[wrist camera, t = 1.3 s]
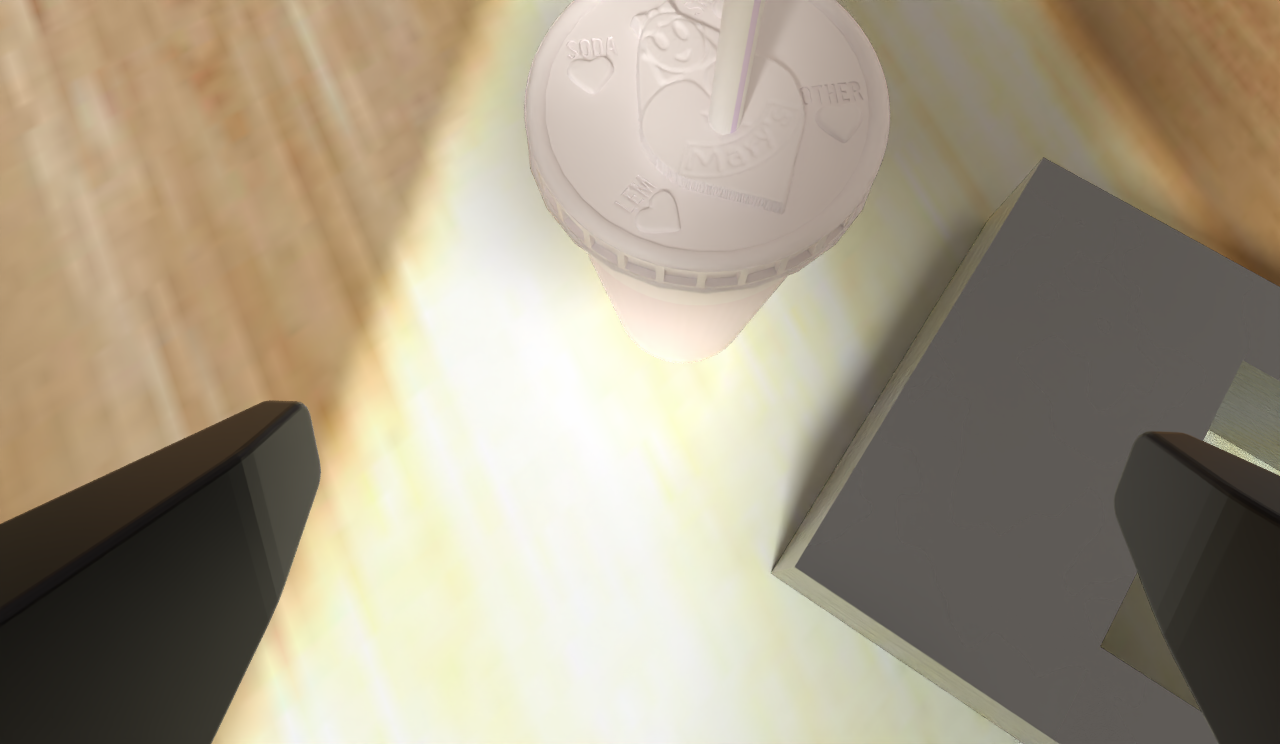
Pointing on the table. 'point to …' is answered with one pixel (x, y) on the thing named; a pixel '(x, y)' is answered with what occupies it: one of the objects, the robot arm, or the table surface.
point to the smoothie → (703, 152)
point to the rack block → (1039, 459)
